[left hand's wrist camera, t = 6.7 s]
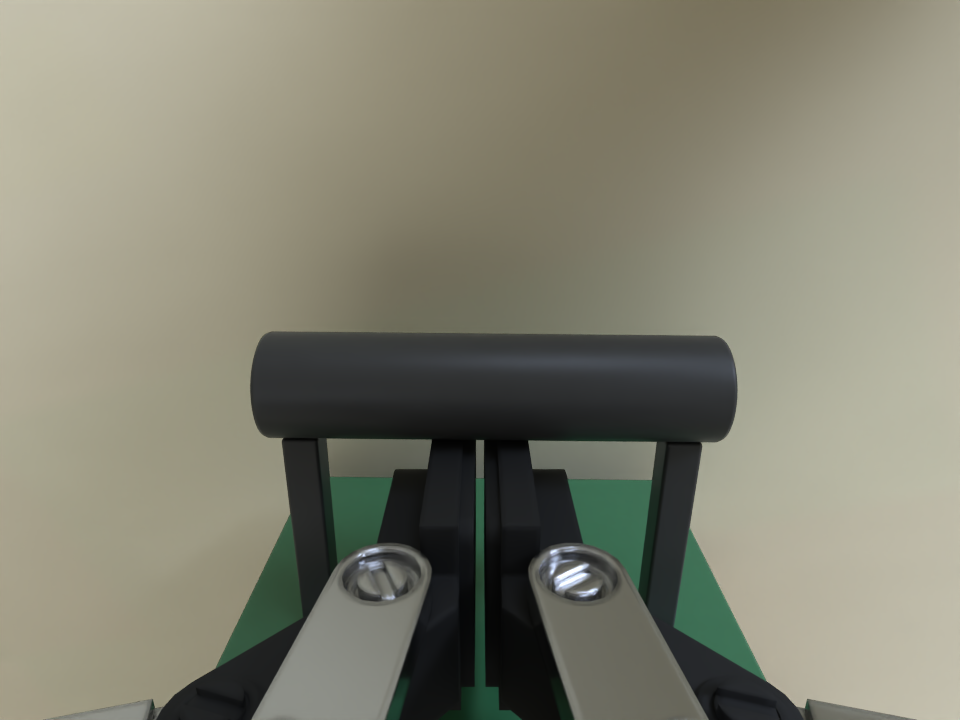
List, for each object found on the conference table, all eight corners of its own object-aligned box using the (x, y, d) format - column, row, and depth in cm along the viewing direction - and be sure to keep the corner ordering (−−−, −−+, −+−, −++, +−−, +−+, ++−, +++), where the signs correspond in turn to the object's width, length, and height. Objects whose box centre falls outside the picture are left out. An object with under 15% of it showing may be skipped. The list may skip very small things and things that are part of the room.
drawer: (285, 262, 15) (86, 410, 7) (695, 266, 15) (909, 419, 7) (339, 779, 21) (262, 1137, 14) (625, 782, 21) (702, 1141, 14)
